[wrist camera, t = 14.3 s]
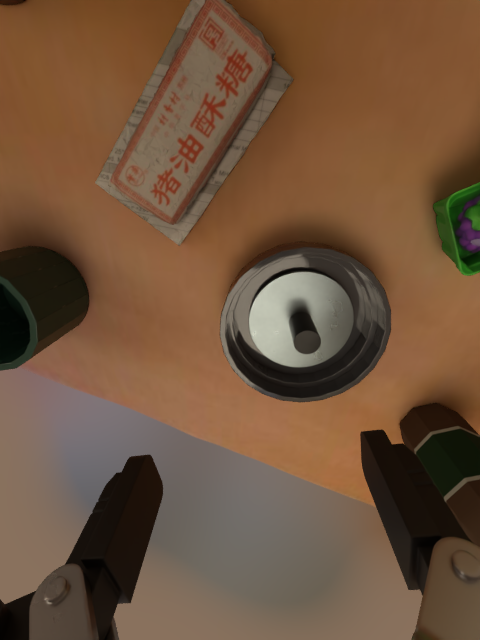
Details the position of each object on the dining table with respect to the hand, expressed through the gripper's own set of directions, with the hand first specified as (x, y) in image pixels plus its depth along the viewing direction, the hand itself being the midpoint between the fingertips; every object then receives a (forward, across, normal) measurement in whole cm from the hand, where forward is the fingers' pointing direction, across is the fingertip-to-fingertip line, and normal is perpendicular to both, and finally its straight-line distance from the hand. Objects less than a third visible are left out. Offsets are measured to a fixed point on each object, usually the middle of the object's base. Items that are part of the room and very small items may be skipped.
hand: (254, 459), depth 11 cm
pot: (+24, +25, -3) cm, 35 cm away
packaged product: (+25, +4, -15) cm, 29 cm away
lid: (+23, -4, +5) cm, 24 cm away
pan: (+24, -4, +5) cm, 25 cm away
